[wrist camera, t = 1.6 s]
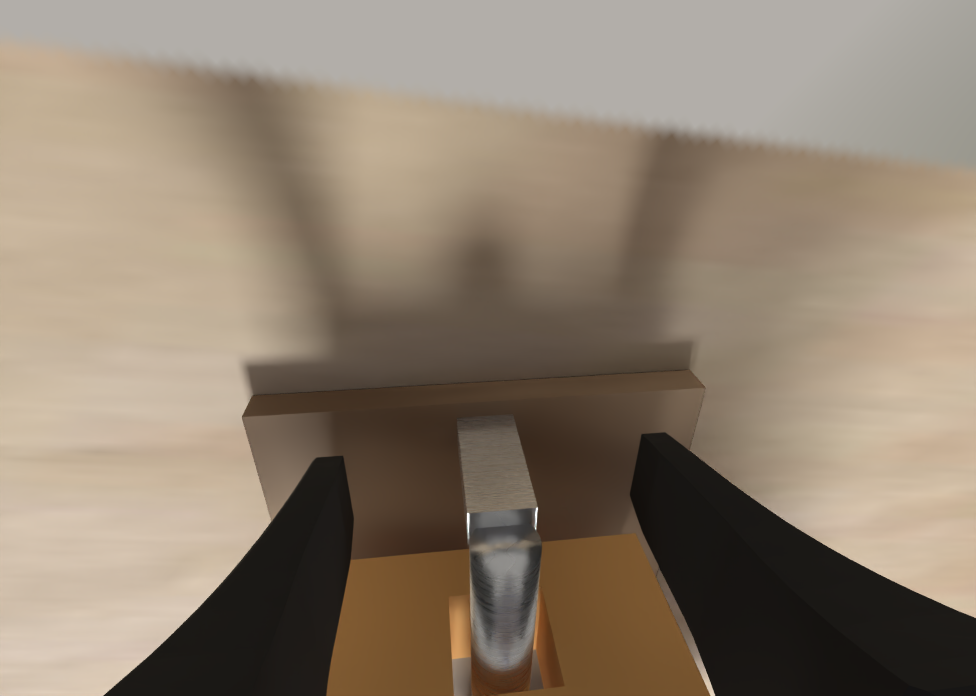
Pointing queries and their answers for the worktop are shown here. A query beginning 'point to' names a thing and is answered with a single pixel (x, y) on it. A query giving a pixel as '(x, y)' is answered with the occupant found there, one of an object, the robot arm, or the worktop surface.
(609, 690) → the collar
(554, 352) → the worktop surface
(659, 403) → the walnut board
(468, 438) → the metal rod
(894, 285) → the worktop surface
